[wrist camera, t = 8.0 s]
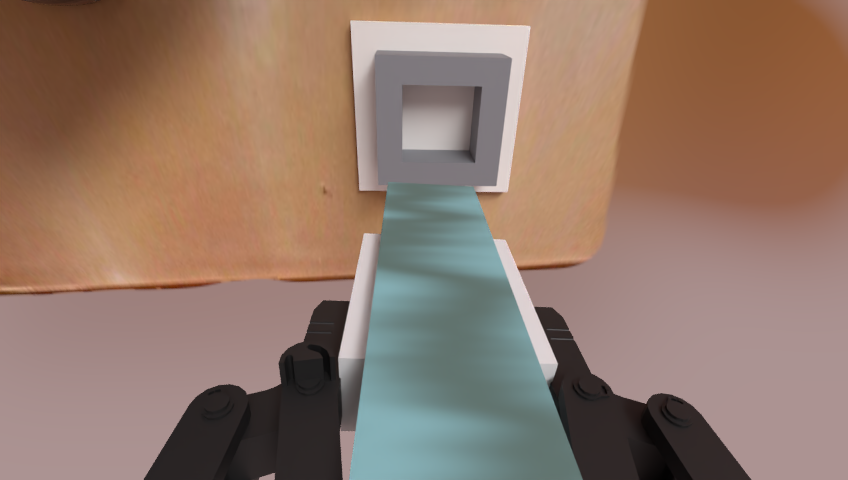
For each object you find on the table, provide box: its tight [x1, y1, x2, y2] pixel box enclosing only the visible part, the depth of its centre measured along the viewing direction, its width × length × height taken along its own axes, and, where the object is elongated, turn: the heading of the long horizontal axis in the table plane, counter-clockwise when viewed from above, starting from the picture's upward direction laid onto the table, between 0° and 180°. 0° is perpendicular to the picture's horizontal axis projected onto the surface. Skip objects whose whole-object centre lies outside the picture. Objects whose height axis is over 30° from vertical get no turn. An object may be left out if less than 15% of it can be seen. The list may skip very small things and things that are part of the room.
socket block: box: [350, 20, 531, 192], centre depth 34 cm, size 14×14×4 cm
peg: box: [349, 182, 583, 480], centre depth 13 cm, size 4×4×16 cm
